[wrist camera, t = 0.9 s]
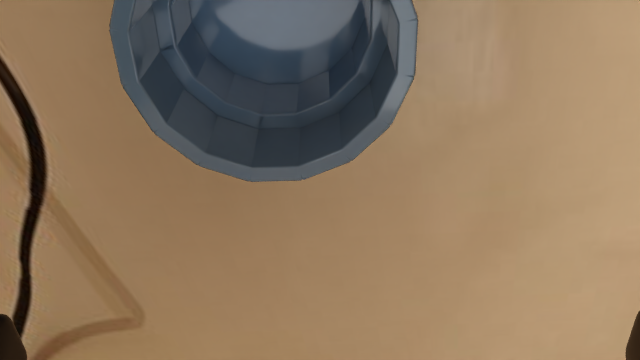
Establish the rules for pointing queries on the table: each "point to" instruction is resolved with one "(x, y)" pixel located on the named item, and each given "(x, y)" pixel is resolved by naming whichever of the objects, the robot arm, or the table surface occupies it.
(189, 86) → the bowl
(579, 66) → the table surface
